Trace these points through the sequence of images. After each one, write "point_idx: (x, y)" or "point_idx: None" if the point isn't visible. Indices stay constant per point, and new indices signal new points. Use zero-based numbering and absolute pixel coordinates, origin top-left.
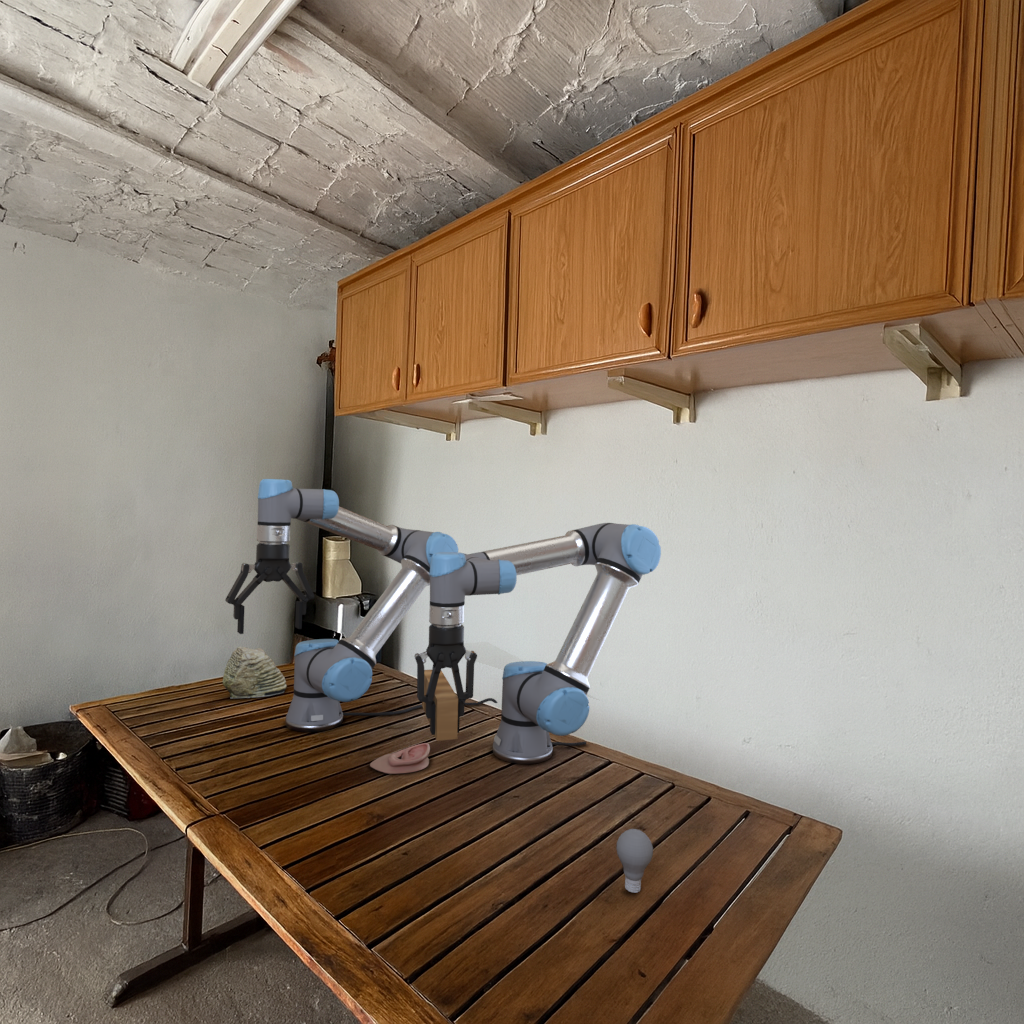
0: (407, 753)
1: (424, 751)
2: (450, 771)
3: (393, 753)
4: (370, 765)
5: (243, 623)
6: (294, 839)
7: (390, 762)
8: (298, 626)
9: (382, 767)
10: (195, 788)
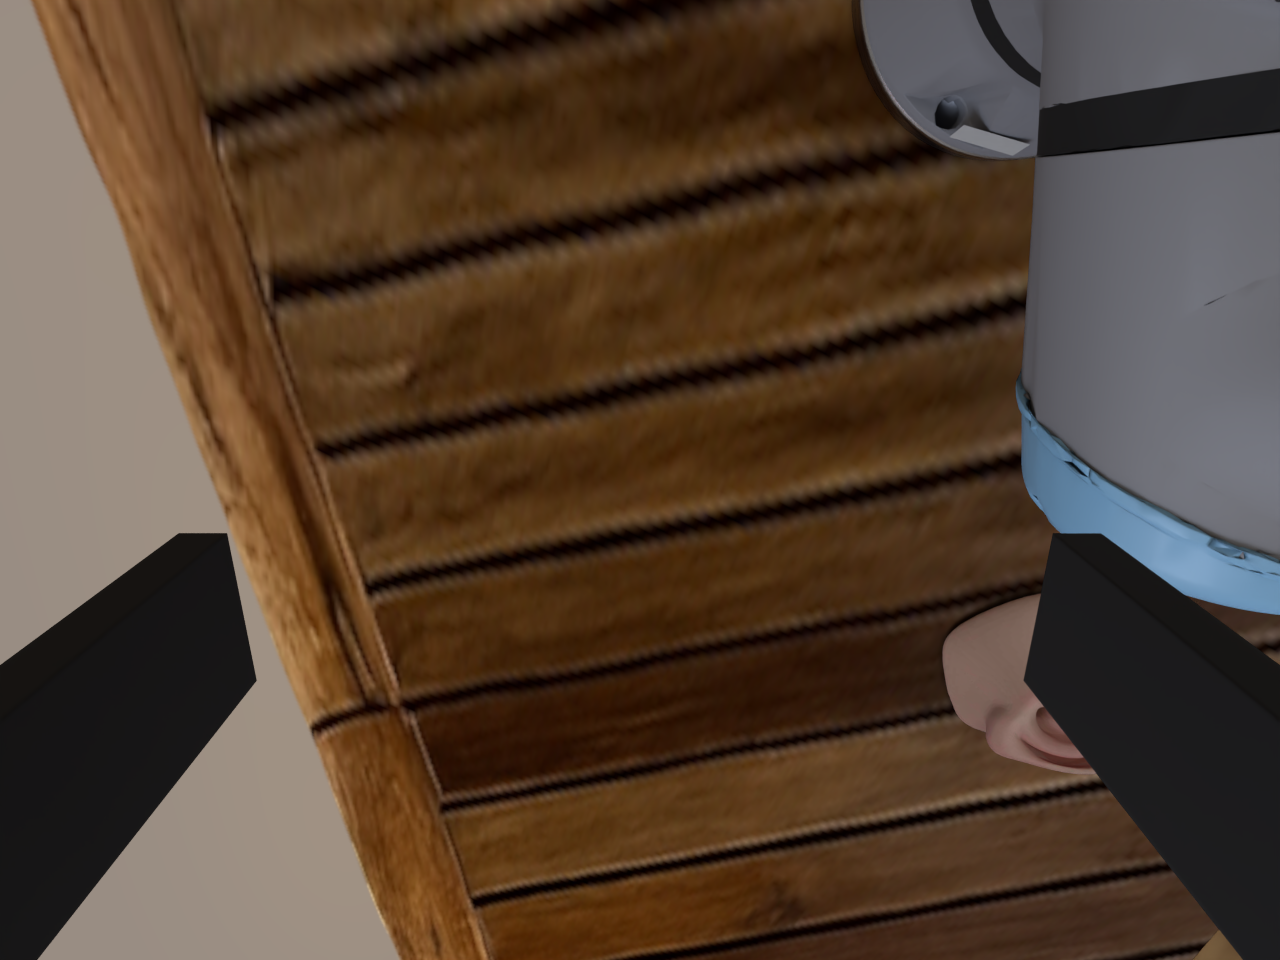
0: None
1: None
2: None
3: None
4: (945, 646)
5: (168, 783)
6: (556, 905)
7: (989, 736)
8: (1042, 696)
9: (964, 698)
10: (339, 505)
